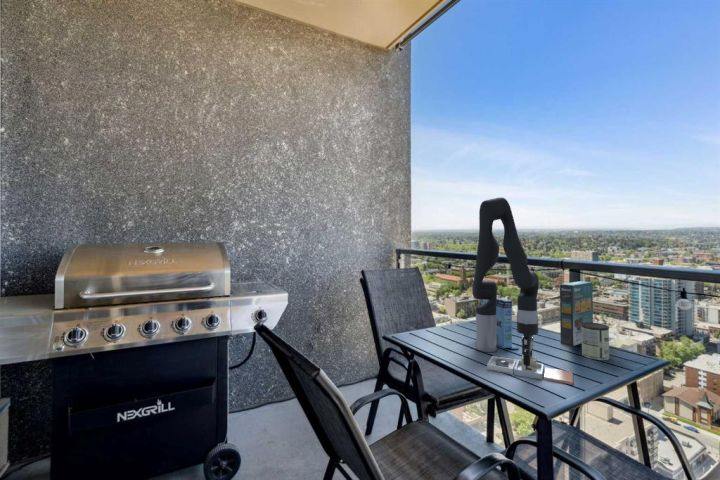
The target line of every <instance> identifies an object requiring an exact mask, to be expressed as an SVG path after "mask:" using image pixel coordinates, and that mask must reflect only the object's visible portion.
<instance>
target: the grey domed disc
mask: <svg viewBox="0 0 720 480" xmlns="http://www.w3.org/2000/svg"><path fill="white" fill-rule="evenodd" d="M496 366H502V367H509V361H507V360H504V359H496Z"/></svg>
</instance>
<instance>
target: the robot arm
mask: <svg viewBox="0 0 720 480" xmlns="http://www.w3.org/2000/svg"><path fill="white" fill-rule="evenodd" d="M478 213H479V215H478V216H479V217H478V219H479V220H478V224H479V225H478V227H479V228H478V230H479V232H478V242H477V249H476V263H475V271H474V277H473V281H472V291H471V292H472V296H473V298H474V299H475V300H480V301H481V300H488V302H487V303H485V304H483V305H478V306H477V307H476V309H475V329H476V330H475V332H476V335H475V336H476V338H475V341H476V343H475V344H476V345H475V347H476V350H478V351H480V352H484V353H494V352H497V351H498V349H497V346H498V345H497V324H496V308H497V297H498V285H497V282H496V281H495V280H492V279H491V280H486V279H485V280H484V278H485V276H486V274H487V273H488V272H490V270H492V268H493V267H494V266H495V265H496V264H497V263H498V260H499V254H500V244H499V242H498V240H497V238H496V236H495V235H494V233H493V225H494V222H495V221H499V220H500V221H501V223H502V226H503V231H504V233H503V241H502V248H503V251H504V254H505V256H506V259H507V261H508V263H509V265H510V271H511V275H512V279H513V281H514V283H515V284H516V286H517V287H518V288H520V289H519V294H518V296H517V302H516V303H517V307H516V308H517V311H516V331H517V333H518V334H522V335H523V336H522V337H521V350H522V352H521V355H522V356H523V364H524V365H526V366H530V356H532V357H533V349H534V337H533V336H534V335H538V334H539V316H538V315H539V314H538V301H537V298H538V294H539V293H538V292H539V287H540V285H539V284H540V280H539V276H538V274H537V273H536V272H535V271H533V270H530V268H529V264H528V261H529V259H528V256H527V254H526V252H525V249H524V248H523V246H522V243H521V240H520V238H519V237H520V236H519V234H518V230H517V226H516V223H515V219H514V215H513V212H512V208H511V205H510V203H509V201H508V199H506V198H505V197H501V196H500V197H496V198H495V197H494V198H489V199H486V200H482V202H481V203H480V206H479V212H478Z"/></svg>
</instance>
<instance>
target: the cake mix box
mask: <svg viewBox="0 0 720 480" xmlns="http://www.w3.org/2000/svg"><path fill="white" fill-rule="evenodd" d="M593 284H594V283H593V281H582V280H580V281H572V282H565V283H560V284H559V309H560V310H559V315H560V318H559V319H560V320H559V321H560V322H559V323H560V325H559V328H560V344H562V345H568V346H572V347H574V346H577V345H580V344H582V326H581V323H586V322H590V323H594V305H593V304H594V301H593V300H594V299H593V298H594V297H593V296H594V294H593V293H594V291H593V290H594V289H593Z"/></svg>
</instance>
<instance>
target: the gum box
mask: <svg viewBox="0 0 720 480" xmlns="http://www.w3.org/2000/svg"><path fill="white" fill-rule="evenodd" d="M480 301H481V302H480V303H481V305H483V304H485V303H487V302H488V300H481V299H480ZM481 305H480V306H481ZM496 324H497V346H499V347H501V348H503V349H507V348H509V349H510V348H512V347H513V301H512V300H510V299H505V298H502V297H499V296H497V308H496Z"/></svg>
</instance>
